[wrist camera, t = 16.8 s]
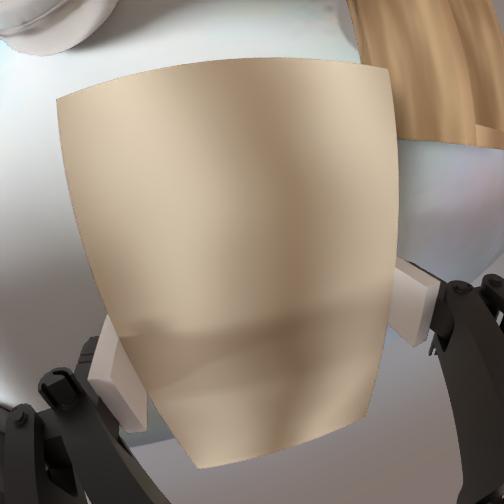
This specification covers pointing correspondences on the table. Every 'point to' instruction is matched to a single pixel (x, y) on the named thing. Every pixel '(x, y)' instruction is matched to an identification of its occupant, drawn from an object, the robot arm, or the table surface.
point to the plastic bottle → (50, 23)
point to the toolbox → (437, 66)
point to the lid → (242, 241)
